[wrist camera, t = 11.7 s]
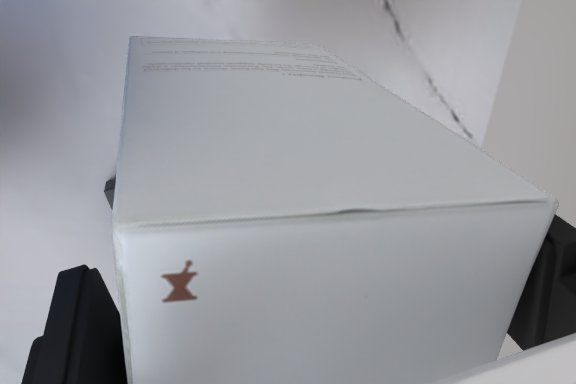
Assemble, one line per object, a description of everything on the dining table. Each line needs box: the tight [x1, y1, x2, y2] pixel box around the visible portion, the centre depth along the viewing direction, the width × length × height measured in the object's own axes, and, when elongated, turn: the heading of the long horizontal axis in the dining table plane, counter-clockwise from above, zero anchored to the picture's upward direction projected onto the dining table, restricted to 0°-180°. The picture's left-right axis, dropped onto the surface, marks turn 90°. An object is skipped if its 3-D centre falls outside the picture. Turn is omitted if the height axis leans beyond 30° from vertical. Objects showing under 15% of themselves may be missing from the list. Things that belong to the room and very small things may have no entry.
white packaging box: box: [112, 36, 559, 384], centre depth 14 cm, size 7×7×13 cm
